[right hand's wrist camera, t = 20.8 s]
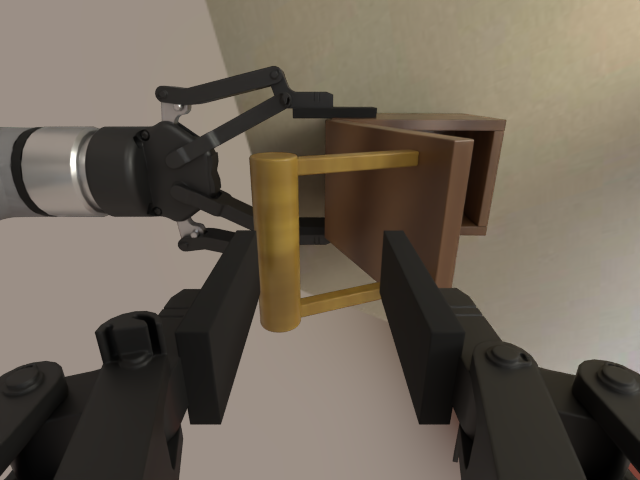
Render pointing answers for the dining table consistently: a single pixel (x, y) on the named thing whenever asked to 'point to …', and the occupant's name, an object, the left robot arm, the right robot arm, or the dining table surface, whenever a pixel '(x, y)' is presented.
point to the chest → (482, 161)
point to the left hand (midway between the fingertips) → (370, 172)
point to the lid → (358, 210)
